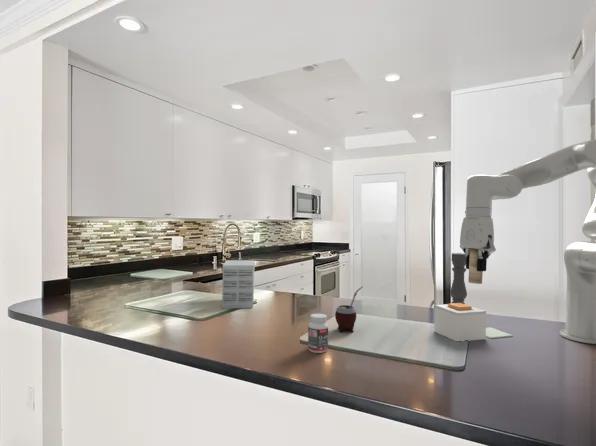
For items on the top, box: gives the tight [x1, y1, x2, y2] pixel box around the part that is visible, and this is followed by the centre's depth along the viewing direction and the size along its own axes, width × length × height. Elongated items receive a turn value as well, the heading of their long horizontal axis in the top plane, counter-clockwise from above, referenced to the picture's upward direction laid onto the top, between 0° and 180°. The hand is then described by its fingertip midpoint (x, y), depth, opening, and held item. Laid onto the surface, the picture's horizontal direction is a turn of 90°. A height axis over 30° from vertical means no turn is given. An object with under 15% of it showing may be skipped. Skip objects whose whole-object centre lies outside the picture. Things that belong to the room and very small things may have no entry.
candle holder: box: [449, 252, 468, 304], centre depth 143 cm, size 6×6×25 cm
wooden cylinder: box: [468, 248, 484, 285], centre depth 118 cm, size 4×4×11 cm
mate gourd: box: [334, 286, 364, 334], centre depth 124 cm, size 8×8×15 cm
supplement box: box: [221, 259, 255, 309], centre depth 160 cm, size 17×13×18 cm
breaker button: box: [447, 302, 473, 311], centre depth 120 cm, size 5×5×3 cm
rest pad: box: [486, 326, 513, 339], centre depth 123 cm, size 9×9×1 cm
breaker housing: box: [433, 303, 487, 342], centre depth 120 cm, size 11×11×9 cm
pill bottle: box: [307, 313, 329, 354], centre depth 105 cm, size 6×6×10 cm
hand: (475, 269), depth 118 cm, fingers closed on wooden cylinder, 4 cm apart
